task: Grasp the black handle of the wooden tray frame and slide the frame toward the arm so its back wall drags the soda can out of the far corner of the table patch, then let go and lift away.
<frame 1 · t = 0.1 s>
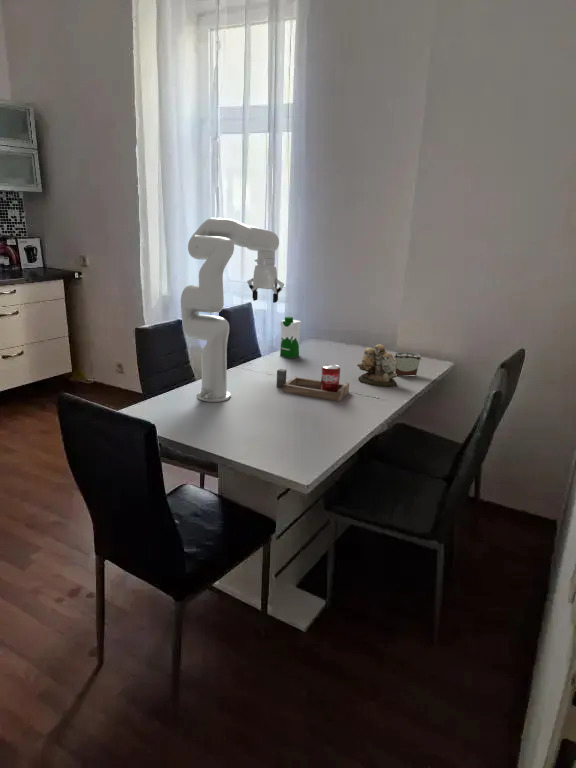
hand: (265, 301, 234), 31 cm above the table, tool pointing down, fingers open, 9 cm apart
owl figurine: (376, 383, 230), on the table
milk carton: (289, 356, 267), on the table
soda can: (329, 395, 212), resting in wooden tray frame
food container: (404, 374, 244), on the table
wooden tray frame: (310, 382, 213), point 4 cm above the table, slide at 0.0 cm
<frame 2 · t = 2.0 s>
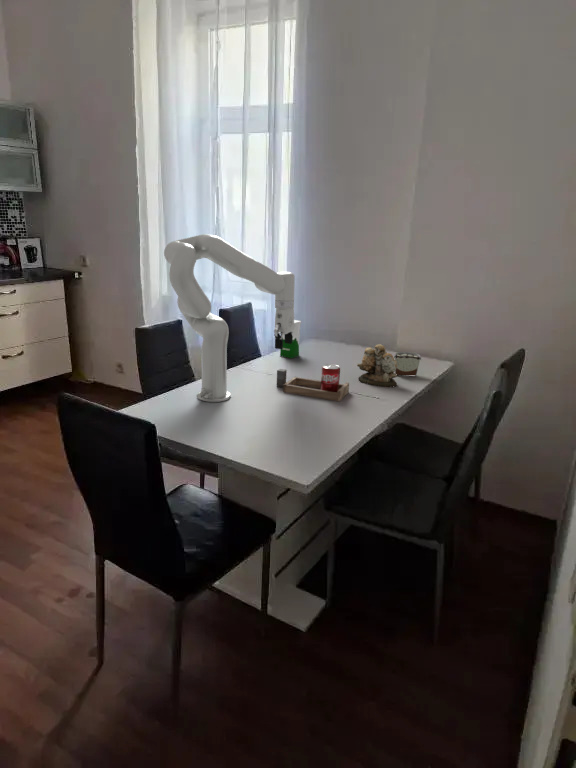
hand: (283, 346, 214), 17 cm above the table, tool pointing down, fingers open, 9 cm apart
nothing on the table moved.
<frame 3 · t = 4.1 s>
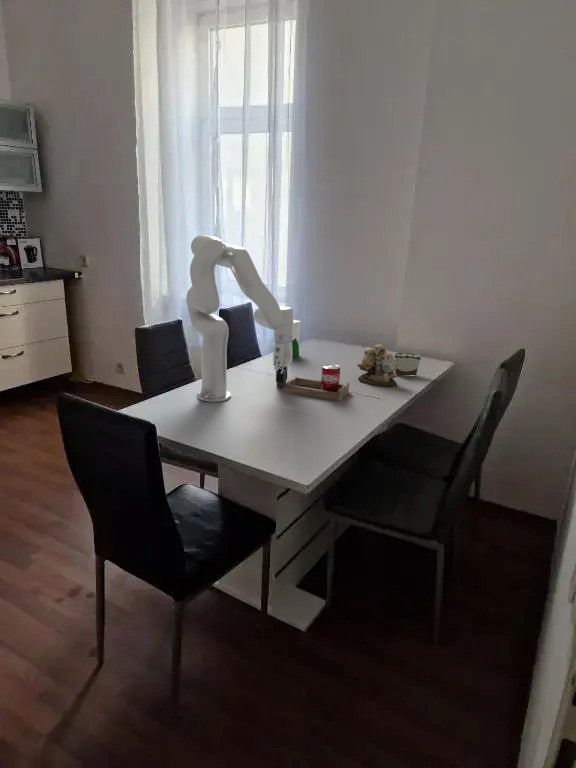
hand: (281, 380, 218), 3 cm above the table, tool pointing down, fingers closed on wooden tray frame, 3 cm apart
wooden tray frame: (310, 382, 213), point 4 cm above the table, slide at 0.0 cm, touching gripper
everything else where it was.
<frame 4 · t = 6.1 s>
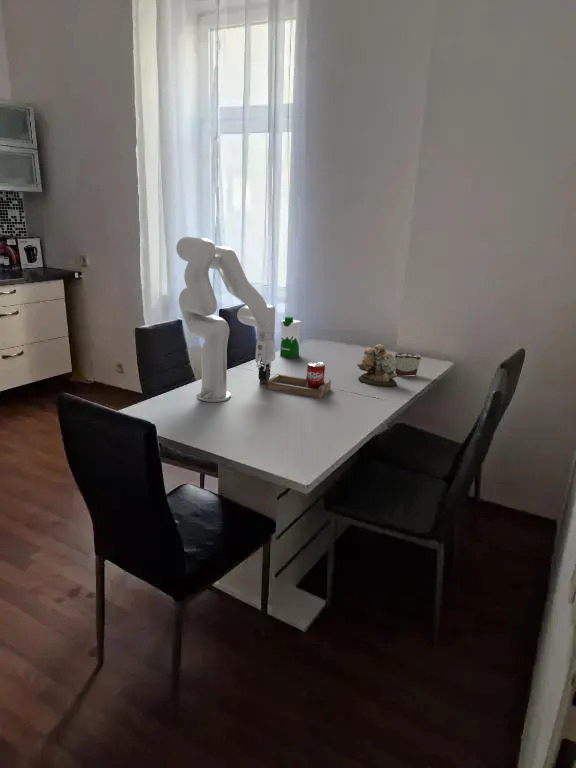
hand: (264, 377, 221), 3 cm above the table, tool pointing down, fingers closed on wooden tray frame, 3 cm apart
soda can: (314, 392, 214), resting in wooden tray frame
wooden tray frame: (292, 380, 216), point 4 cm above the table, slide at 7.8 cm, touching gripper
everything else where it was.
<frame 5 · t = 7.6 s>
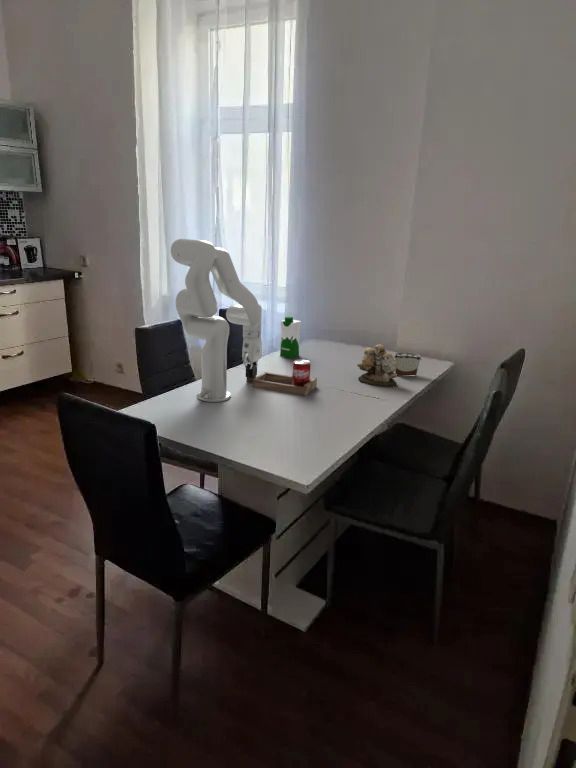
hand: (251, 375, 223), 3 cm above the table, tool pointing down, fingers closed on wooden tray frame, 3 cm apart
soda can: (300, 390, 216), resting in wooden tray frame
wooden tray frame: (279, 377, 218), point 4 cm above the table, slide at 13.9 cm, touching gripper, soda can
everything else where it was.
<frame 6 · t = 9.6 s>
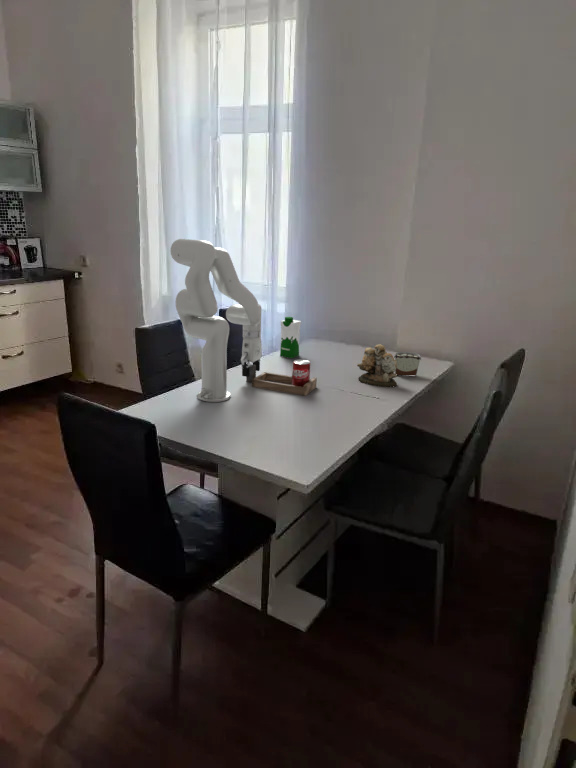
hand: (251, 373, 223), 4 cm above the table, tool pointing down, fingers open, 9 cm apart
soda can: (300, 390, 216), resting in wooden tray frame
wooden tray frame: (279, 377, 218), point 4 cm above the table, slide at 14.0 cm
everything else where it was.
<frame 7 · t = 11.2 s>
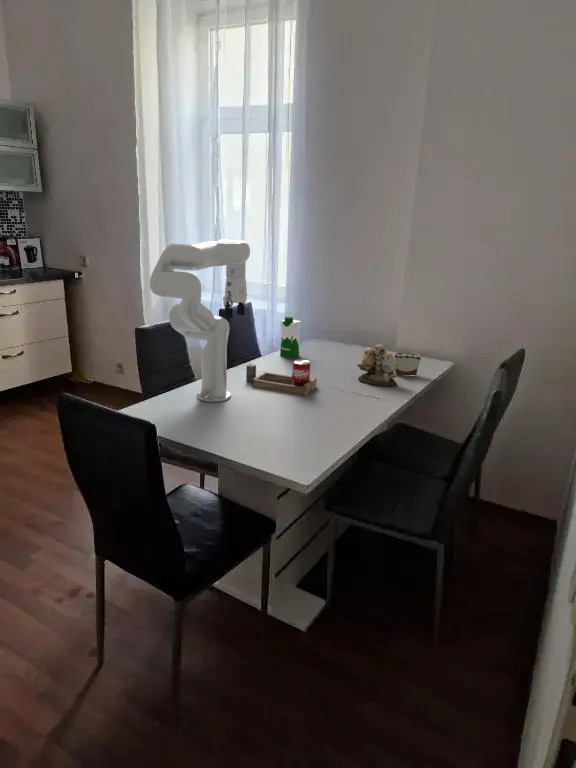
hand: (234, 316, 212), 28 cm above the table, tool pointing down, fingers open, 9 cm apart
nothing on the table moved.
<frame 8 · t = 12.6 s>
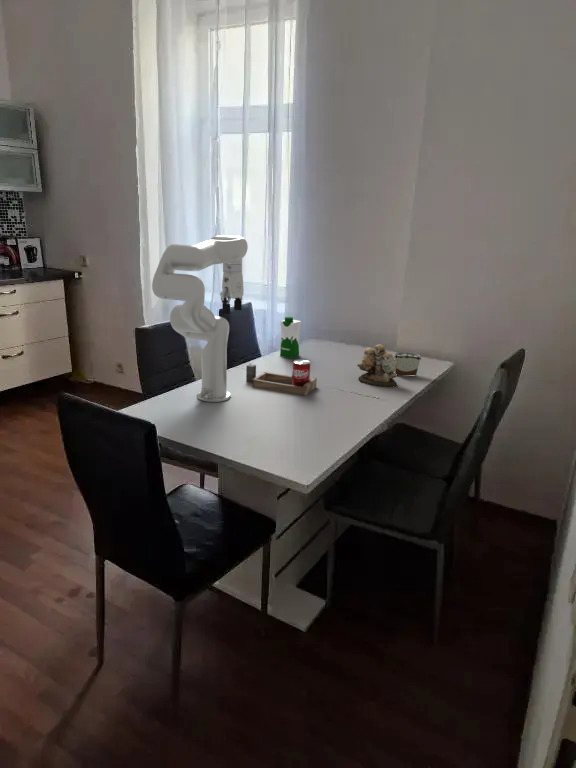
hand: (232, 311, 211), 30 cm above the table, tool pointing down, fingers open, 9 cm apart
nothing on the table moved.
at the end: wooden tray frame slide at 14.0 cm; soda can inside the target area (0.3 cm from its centre), resting in wooden tray frame; soda can tilted 0° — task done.
